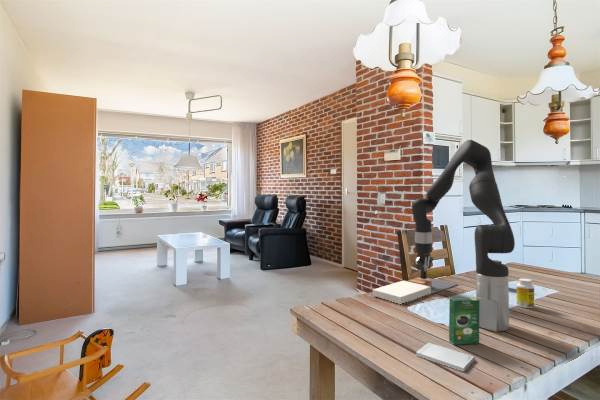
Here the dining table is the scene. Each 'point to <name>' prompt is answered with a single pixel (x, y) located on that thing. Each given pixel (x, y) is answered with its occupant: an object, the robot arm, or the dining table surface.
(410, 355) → the dining table surface
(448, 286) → the mat
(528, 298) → the supplement bottle
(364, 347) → the dining table surface
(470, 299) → the coffee box
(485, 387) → the dining table surface
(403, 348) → the dining table surface
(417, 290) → the block
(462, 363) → the hard drive
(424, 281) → the terracotta block
